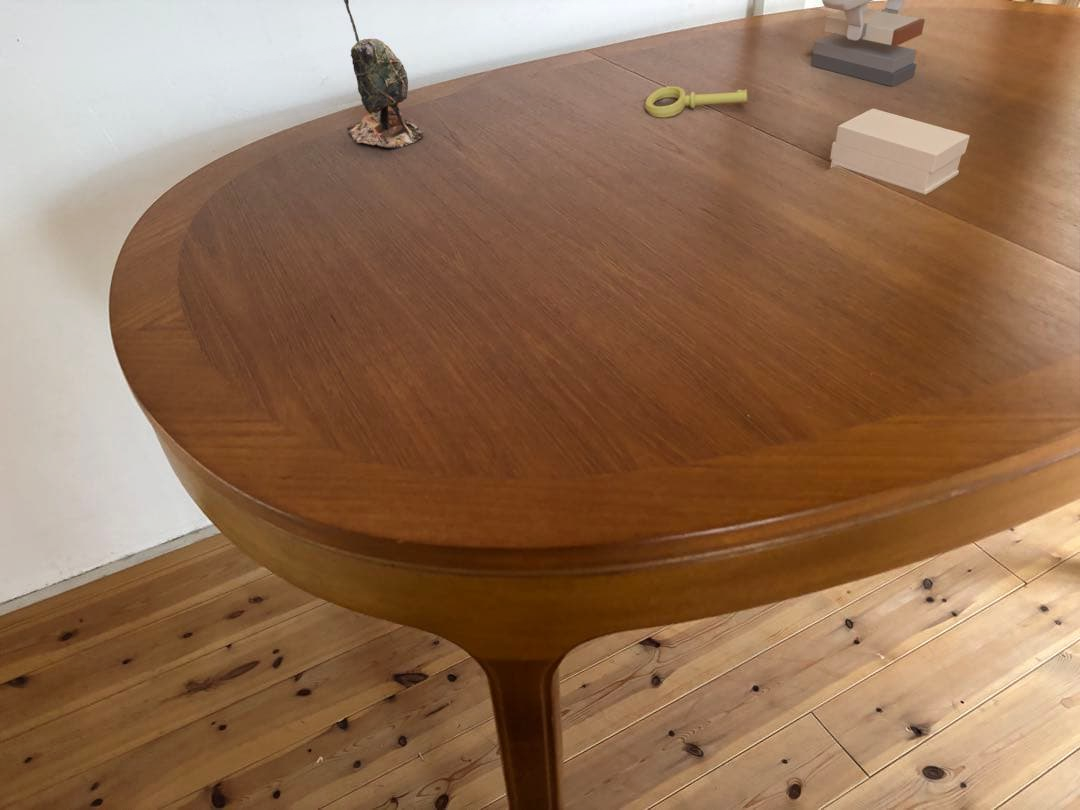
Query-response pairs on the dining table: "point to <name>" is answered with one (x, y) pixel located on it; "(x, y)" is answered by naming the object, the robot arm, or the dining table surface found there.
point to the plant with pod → (380, 94)
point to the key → (688, 100)
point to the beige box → (899, 150)
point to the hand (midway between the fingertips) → (872, 31)
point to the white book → (879, 26)
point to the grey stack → (864, 59)
